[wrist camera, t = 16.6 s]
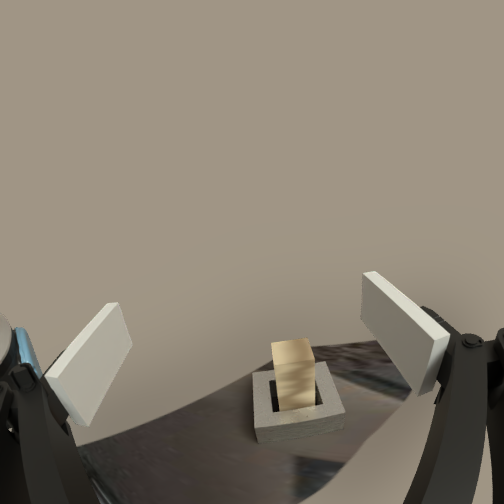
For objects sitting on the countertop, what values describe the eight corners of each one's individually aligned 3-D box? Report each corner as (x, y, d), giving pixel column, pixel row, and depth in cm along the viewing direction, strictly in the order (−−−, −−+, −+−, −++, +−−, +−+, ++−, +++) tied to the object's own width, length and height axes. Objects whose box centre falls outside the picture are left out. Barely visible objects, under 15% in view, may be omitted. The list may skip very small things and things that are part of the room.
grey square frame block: (258, 443, 31) (254, 427, 30) (255, 389, 43) (252, 372, 42) (343, 429, 31) (345, 412, 30) (324, 378, 42) (325, 361, 41)
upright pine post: (281, 423, 34) (273, 365, 31) (278, 401, 39) (271, 342, 36) (314, 418, 34) (314, 358, 31) (309, 396, 39) (307, 337, 36)
